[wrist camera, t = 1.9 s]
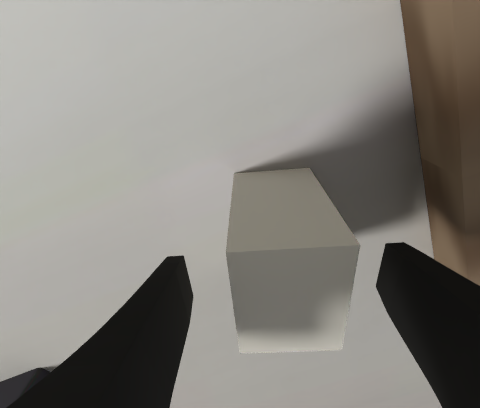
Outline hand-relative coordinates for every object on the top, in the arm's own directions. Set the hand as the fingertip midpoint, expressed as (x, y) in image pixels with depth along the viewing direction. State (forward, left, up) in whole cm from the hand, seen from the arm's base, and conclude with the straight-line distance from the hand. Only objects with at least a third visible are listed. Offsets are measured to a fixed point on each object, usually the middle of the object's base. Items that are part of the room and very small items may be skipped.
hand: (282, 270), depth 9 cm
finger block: (0, 0, -4) cm, 4 cm away
